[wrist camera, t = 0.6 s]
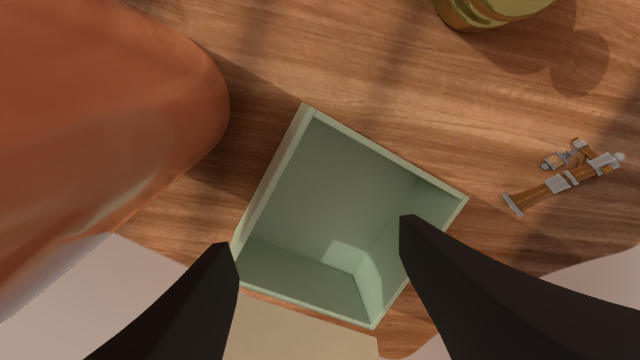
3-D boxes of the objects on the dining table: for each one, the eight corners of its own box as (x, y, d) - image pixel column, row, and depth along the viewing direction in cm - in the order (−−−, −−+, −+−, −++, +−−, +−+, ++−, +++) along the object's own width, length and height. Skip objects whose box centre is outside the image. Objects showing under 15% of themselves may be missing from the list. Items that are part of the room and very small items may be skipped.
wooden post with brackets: (594, 138, 23) (638, 168, 19) (500, 188, 27) (521, 219, 23) (585, 125, 22) (628, 152, 18) (490, 177, 26) (511, 208, 23)
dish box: (352, 277, 25) (373, 330, 19) (234, 231, 22) (218, 279, 16) (423, 171, 22) (470, 198, 17) (301, 101, 19) (309, 105, 14)
